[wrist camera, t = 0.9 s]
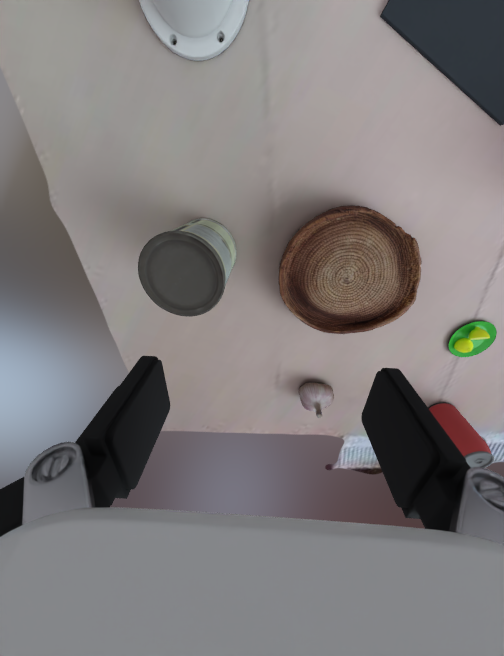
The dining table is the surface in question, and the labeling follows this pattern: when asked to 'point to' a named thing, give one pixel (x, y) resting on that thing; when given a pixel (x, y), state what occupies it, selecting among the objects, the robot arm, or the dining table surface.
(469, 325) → the lemon on green saucer
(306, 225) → the basket
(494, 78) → the mat
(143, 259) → the coffee can
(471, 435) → the beer can
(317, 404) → the garlic bulb
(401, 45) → the dining table surface
